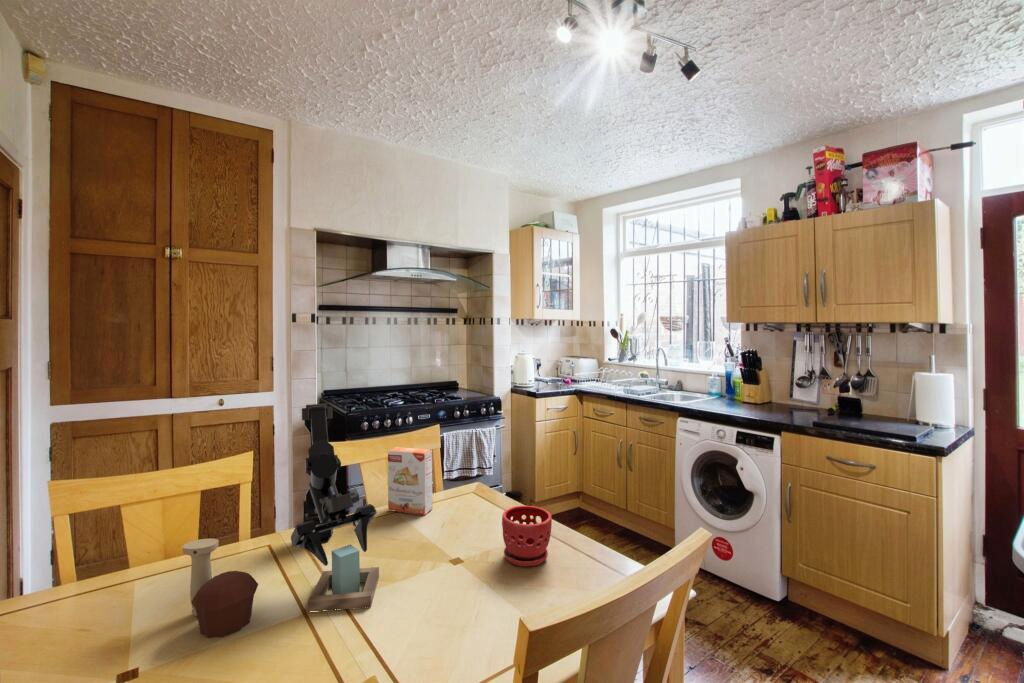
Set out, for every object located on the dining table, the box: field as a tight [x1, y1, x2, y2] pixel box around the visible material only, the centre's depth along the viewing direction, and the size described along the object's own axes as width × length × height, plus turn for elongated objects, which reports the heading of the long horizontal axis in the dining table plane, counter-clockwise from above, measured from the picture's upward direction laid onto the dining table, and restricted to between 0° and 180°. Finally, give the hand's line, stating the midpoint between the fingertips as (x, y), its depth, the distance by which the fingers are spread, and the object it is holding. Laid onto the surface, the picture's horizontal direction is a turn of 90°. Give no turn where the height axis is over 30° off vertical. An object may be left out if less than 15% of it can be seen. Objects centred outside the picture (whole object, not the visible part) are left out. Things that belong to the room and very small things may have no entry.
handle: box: [182, 538, 220, 618], centre depth 99 cm, size 5×6×15 cm
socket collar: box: [307, 566, 380, 613], centre depth 107 cm, size 13×13×2 cm
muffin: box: [190, 570, 259, 639], centre depth 96 cm, size 12×11×10 cm
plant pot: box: [501, 505, 553, 567], centre depth 123 cm, size 13×13×12 cm
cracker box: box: [387, 446, 433, 516], centre depth 158 cm, size 14×6×21 cm, turn 73°
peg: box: [331, 544, 361, 595], centre depth 107 cm, size 4×4×10 cm
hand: (346, 557), depth 106 cm, fingers open, 9 cm apart
